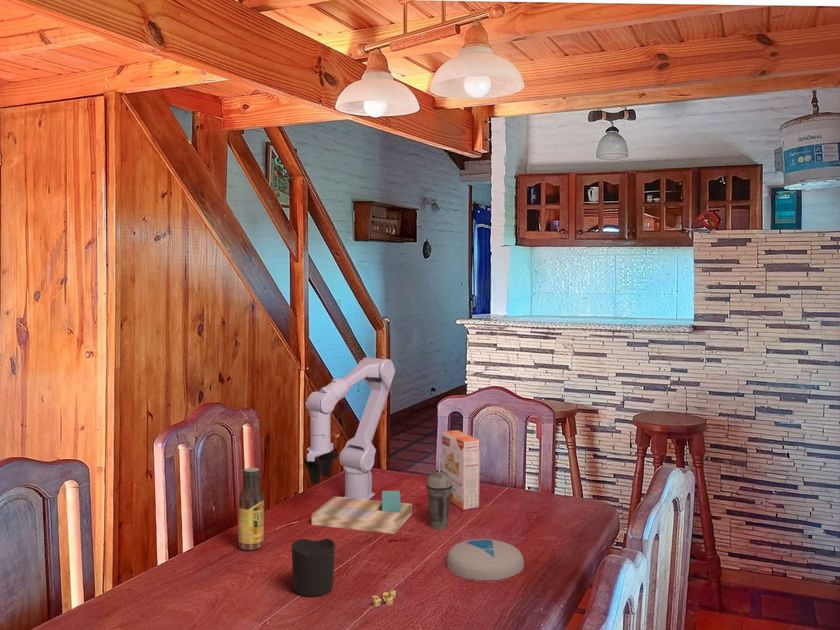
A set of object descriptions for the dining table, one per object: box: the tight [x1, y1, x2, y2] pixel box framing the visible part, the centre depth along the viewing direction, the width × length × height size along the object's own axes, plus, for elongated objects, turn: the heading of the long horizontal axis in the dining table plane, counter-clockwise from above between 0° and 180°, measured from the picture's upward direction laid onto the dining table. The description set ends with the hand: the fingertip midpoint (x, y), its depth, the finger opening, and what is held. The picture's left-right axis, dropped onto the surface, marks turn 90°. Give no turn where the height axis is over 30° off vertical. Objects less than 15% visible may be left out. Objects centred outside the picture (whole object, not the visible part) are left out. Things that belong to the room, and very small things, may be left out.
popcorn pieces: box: [371, 589, 397, 608], centre depth 157 cm, size 5×5×2 cm
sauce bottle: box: [237, 467, 265, 551], centre depth 186 cm, size 6×6×20 cm
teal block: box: [381, 490, 401, 513], centre depth 209 cm, size 5×5×6 cm
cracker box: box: [441, 429, 481, 511], centre depth 222 cm, size 14×6×21 cm, turn 25°
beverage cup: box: [425, 455, 453, 531], centre depth 201 cm, size 7×7×20 cm
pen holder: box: [291, 538, 336, 598], centre depth 162 cm, size 9×9×10 cm
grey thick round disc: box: [446, 538, 525, 581], centre depth 176 cm, size 18×18×5 cm
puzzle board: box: [311, 495, 413, 535], centre depth 207 cm, size 24×16×3 cm
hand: (320, 479), depth 213 cm, fingers open, 7 cm apart
